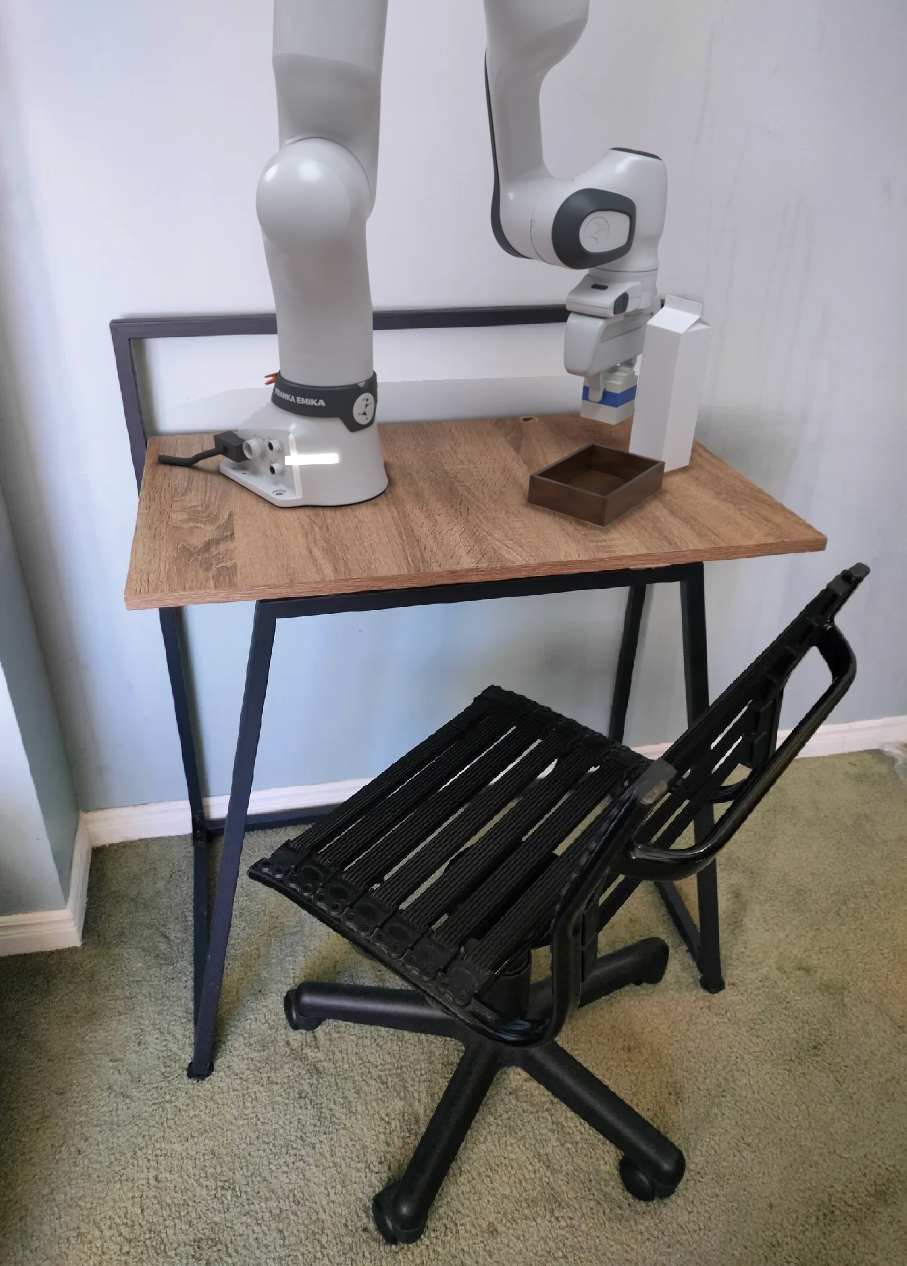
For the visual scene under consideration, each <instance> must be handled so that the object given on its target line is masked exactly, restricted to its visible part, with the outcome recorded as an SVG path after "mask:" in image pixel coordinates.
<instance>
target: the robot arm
mask: <svg viewBox="0 0 907 1266" xmlns="http://www.w3.org/2000/svg"><path fill="white" fill-rule="evenodd" d="M590 2H591V1H590V0H482V5H483V11H484V19H485V21H484V22H485V34H486V35H485V36H486V44H485V45H486V46H485V52H484V64H483V66H484V67H483V68H484V86H485V87H484V88H485V99H486V107H487V108H486V109H487V118H488V126H489V135H490V138H489V139H490V145H491V146H490V147H491V156H492V166H493V189H492V197H491V206H490V225H491V230H492V234H493V237H494V238H495V240H496V242H497V244H498V245H499V246H500V248H501V249H502V250H503V251H504V252H505V253H506V254H508V255H510V256H512V257H514V258H520V259H524V260H525V259H527V260H533V261H538V262H541V263H544V264H548V265H551V266H555V267H560V268H563V269H566V270H571V271H581V270H587V273H586V274H585V275H584V276H583V278H582V279H581V280H580V281H579V283H578V284H577V285H576V286H574V287H573V289H571V290H570V291H569V292H568V293H567V296H566V300H565V308H566V310H567V311H570V313H569V315H568V318H567V320H566V324H565V330H564V331H565V332H564V342H563V343H564V344H563V366H564V369H565V371H566V373H567V374H569V375H573V376H576V377H582V378H584V377H586V379H587V382H588V385H589V396H588V397H589V400H590V401H594V402H599V401H601V400H603V399H604V398H605V393H606V387H603V380H602V377H604V376H605V370H606V369H608V368H611V367H613V366H615V365H618V366H622V367H627V368H631V370H634V369H635V367H636V364H637V362H638V356H640V355H642V352H643V345H644V338H645V331H646V324H647V322H648V321H649V320H650V319H651V318H652V317H653V316H654V315H655V314H657V313H658V312H659V311H660V310H661V309H662V303H661V302H662V301H661V298H660V297H659V296H658V287H657V282H658V281H657V280H658V274H659V264H660V263H659V254H658V248H659V244H660V240H661V237H662V235H663V232H664V228H665V222H666V213H667V206H668V205H667V202H668V171H667V166H666V163H665V161H664V159H662V158H660V156H658V155H657V154H654V153H651V152H648V151H645V150H644V151H643V150H637V149H632V148H628V147H622V146H621V147H618V146H615V147H611V148H608V149H606V151H604V154H603V156H602V157H601V159H600V160H598V161H597V162H596V163H595V164H594V165H593V166H591V167H590V168H589V169H587V170H586V171H584V172H582V173H580V174H579V175H578V174H577V176H574V177H571V179H564V178H559V177H555V176H554V175H553V174H552V173H551V172H550V171H549V169H548V168H547V166H546V163H545V161H544V150H543V136H542V135H543V134H542V121H541V107H540V95H541V88H542V85H543V82H544V80H545V78H546V76H547V74H548V73H549V72H550V71H551V70H552V69H553V68H554V67H556V65H558V64H559V63H561V62H562V61H563V60H564V59H565V58H566V57H567V56H568V55H569V54H570V53H571V52H572V50H573V49H575V47H576V46H577V44H578V42H579V41H580V39H581V38H582V36H583V33H584V31H585V30H586V27H587V24H588V21H589V14H590ZM388 9H389V0H273V21H272V22H273V23H272V25H273V26H272V52H271V53H272V56H271V57H272V58H271V64H272V71H273V75H274V76H273V77H274V85H275V94H276V105H277V106H276V109H277V125H278V151H276V152H275V153H274V154H273V155H272V156H271V157H270V158H269V159H268V161H267V162H266V163H265V165H264V166H263V169H262V170H261V173H260V175H259V178H258V182H257V186H256V193H255V210H256V216H257V221H258V223H259V226H260V230H261V237H262V238H261V239H262V243H263V249H264V254H265V255H264V256H265V261H266V265H267V270H268V275H269V280H270V284H271V288H272V295H273V299H274V305H275V306H274V307H275V318H276V330H277V331H276V332H277V344H278V346H277V347H278V359H279V370H278V371H277V372H274V373H270V374H267V375H264V379H267V378H268V380H267V381H265V382H264V385H265V386H268V385H272V384H274V385H273V389H272V392H271V397H270V400H269V401H267V402H266V403H264V405H262V406H261V407H260V408H258V410H256V411H255V412H253V413H252V414H250V415H249V416H248V417H246V418H245V420H243V421H242V423H240V425H239V428H238V430H237V433H235V432H234V431H231V430H229V431H224V432H221V433H217V434H213V443H214V448H210V449H207V450H204V451H201V452H198V453H195V454H194V455H192V456H191V457H178V456H173V455H167V454H161V453H160V454H158V455H157V462H159V463H162V464H163V463H165V464H170V465H176V466H193V465H194V466H195V465H196V464H198V463H199V462H201V461H204V460H207V459H210V458H213V457H216V456H223V457H225V458H224V459H223V460H222V461H221V462H220V463H219V472H220V473H221V474H223V475H224V476H226V477H228V478H229V479H230V480H231V479H232V481H235V482H237V483H238V484H240V485H242V486H243V487H245V488H247V490H249V491H251V492H253V493H254V494H256V495H258V496H260V497H261V498H263V499H264V500H266V501H268V502H269V503H272V504H273V505H275V506H277V507H280V508H290V507H291V508H292V507H299V506H342V505H343V506H344V505H349V504H356V503H359V502H363V501H366V500H370V499H372V498H375V497H377V496H378V495H380V494H382V493H383V492H384V491H385V490H386V489H387V487H388V485H389V480H388V475H387V472H386V470H385V461H384V457H383V456H382V449H381V442H380V435H379V429H378V428H379V427H378V421H377V420H378V419H377V415H376V413H377V405H378V401H379V399H378V397H379V396H378V395H379V394H378V393H379V392H378V388H379V383H378V374H377V371H375V370H374V325H373V324H374V321H373V318H374V317H373V301H372V295H371V287H370V285H371V284H370V276H369V275H370V274H369V263H368V261H369V260H368V249H367V248H368V247H367V221H368V220H369V219H370V217H371V215H372V213H373V210H374V207H375V204H376V198H377V185H378V168H379V151H380V132H381V130H380V129H381V108H382V107H381V105H382V104H381V102H382V101H381V100H382V80H383V79H382V78H383V64H384V54H385V42H386V34H387V33H386V32H387V20H388ZM269 378H271V379H269Z"/></svg>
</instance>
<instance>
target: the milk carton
mask: <svg viewBox="0 0 907 1266" xmlns="http://www.w3.org/2000/svg"><path fill="white" fill-rule="evenodd" d="M602 380H603V387H606V393H605V398H604V399H603V400H601V401H599V402H594V401H590V400H589V397H588V396H589V385H588V382H587V379H586V377H583V384H582V394H581V405H580V406H581V407H580V417H581V418H585V419H588V420H592V421H593V420H594V421H597V422H601V423H605V424H609V425H612V426H616V425H617V424H619V423H621V422H623V421H625V420H627V419H629V418H631V417H634V410H635V403H636V395H637V388H638V381H639V375H637V374H636V370H634V369H633V370H631V368H627V367H622V366H619V364H617V365H615V366H613V367H611V368H608V369H606V370H605V376H604V377H602Z"/></svg>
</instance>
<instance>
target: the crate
mask: <svg viewBox="0 0 907 1266" xmlns="http://www.w3.org/2000/svg"><path fill="white" fill-rule="evenodd" d="M664 467H665V462H663V461H659V460H656V459H652V458H649V457H645V456H641V455H638V454H634V453H630V452H629V451H628V450H627V451H626V450H623V449H619V448H616V447H613V446H609V445H604V444H601V443H598V442H593V441H591V442H589V443H587V444H585V445H583V446H582V447H580V448H578V449H576V450H574V451H573V452H571V453H569V454H567V455H565V456H563V457H562V458H559V459H558V460H556V461H554V462H552V463H550V464H548V465H546V466H545V467H543V468H540V470H539V469H538V470H537V471H535V472H533V473H532V474H530V475H529V479H528V480H529V481H528V493H527V503H529V504H532V505H535V506H538V507H540V508H544V509H547V510H551V511H553V512H557V513H559V514H563V515H566V516H568V517H572V518H575V519H577V520H581V521H585V522H587V523H591V524H593V525H596V526H600V527H603V528H605V527H606V526H608V525H609V524H611V523H612V522H614V521H615V520H616V519H618V518H619V517H621V516H622V515H624V514H625V513H627V512H628V511H630V510H631V509H633V508H635V507H636V506H637V505H638V504H640V503H641V502H643V501H644V500H646V499H647V498H649V497H650V496H652V495H654V494H655V493H656V492H658V491H659V490H661V489H662V486H663V485H662V484H663V478H664V473H665V472H664Z"/></svg>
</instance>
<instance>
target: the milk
mask: <svg viewBox="0 0 907 1266" xmlns="http://www.w3.org/2000/svg"><path fill="white" fill-rule="evenodd" d="M702 310H703V304H702V303H701V302H698V301H694V300H690V299H686V298H683V297H679V296H675V295H672V294H667V295H665V297H664V304H663V307H661V310H660V311H659V312H658V313H657V314H655V315H654V316H653V317H652V318H651V319H650V320H649V321H648V322H647V324H646V331H645V338H644V345H643V352H642V354H641V359H640V360H641V361H640V366H639V368H640V369H639V375H638V381H637V390H636V398H635V404H634V412H633V416H632V426H631V431H630V439H629V440H630V441H629V444H628V445H629V447H628V452H630V453H634V454H638V455H641V456H645V457H649V458H652V459H656V460H659V461H663V462H665V467H664V473H666V472H670V471H673V470H677V469H681V468H683V467H686V466H689V465H690V459H691V455H692V449H693V444H694V437H695V432H696V426H697V421H698V416H699V415H698V414H699V411H700V404H701V398H702V392H703V388H704V382H705V376H706V371H707V365H708V360H709V354H710V348H711V342H712V337H713V331H714V327H713V325H712V324H710V323H709V322H708V321H707V320H705V318H704V317H702Z"/></svg>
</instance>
